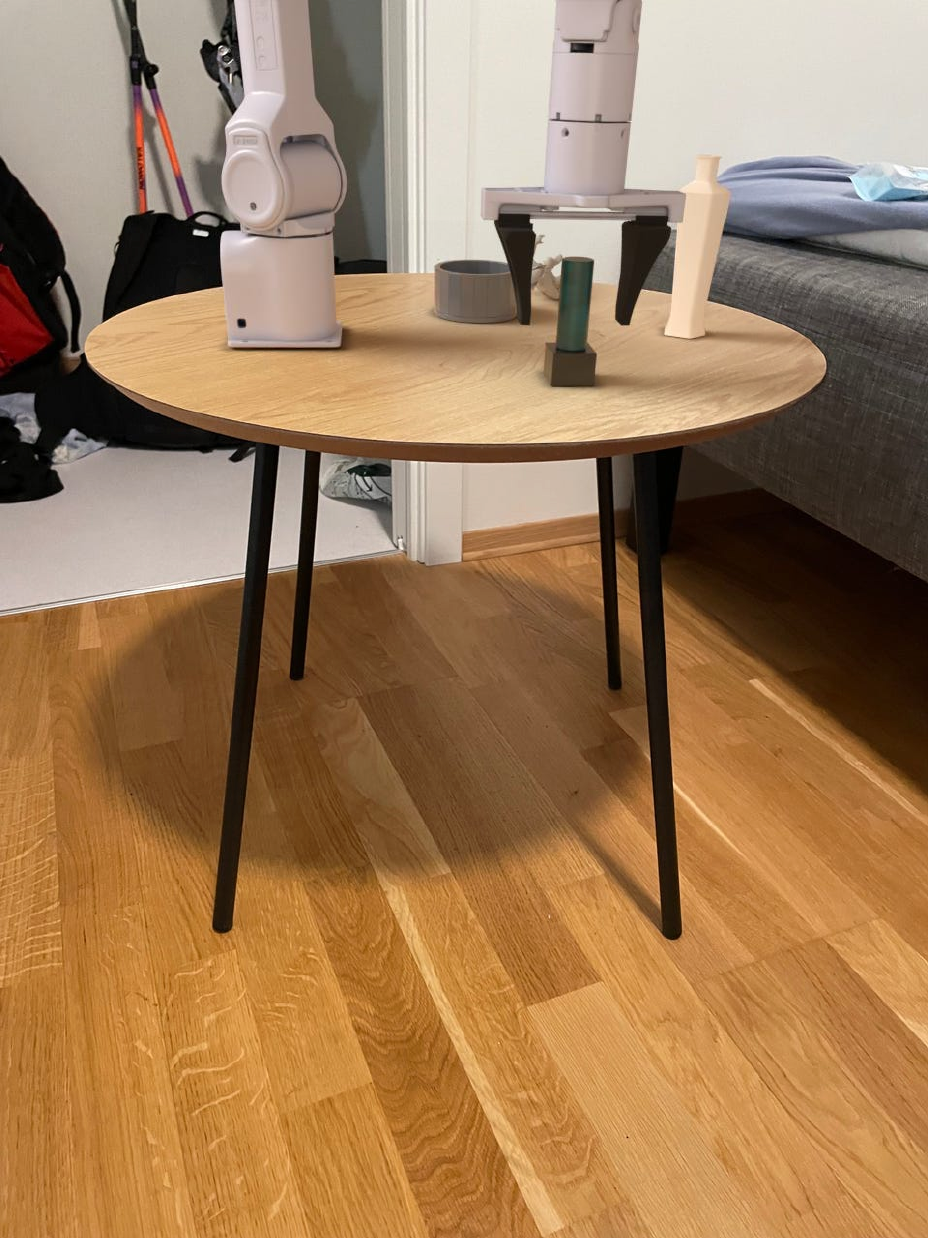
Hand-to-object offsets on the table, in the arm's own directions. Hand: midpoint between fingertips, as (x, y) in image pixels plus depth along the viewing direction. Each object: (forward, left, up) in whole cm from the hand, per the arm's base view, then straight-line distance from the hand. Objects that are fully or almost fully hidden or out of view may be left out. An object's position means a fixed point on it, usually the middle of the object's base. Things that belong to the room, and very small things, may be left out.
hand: (573, 322), depth 71 cm
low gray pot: (-5, +23, -4) cm, 24 cm away
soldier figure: (+4, +33, -5) cm, 34 cm away
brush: (0, 0, -4) cm, 4 cm away
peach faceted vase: (+14, +15, -5) cm, 21 cm away
